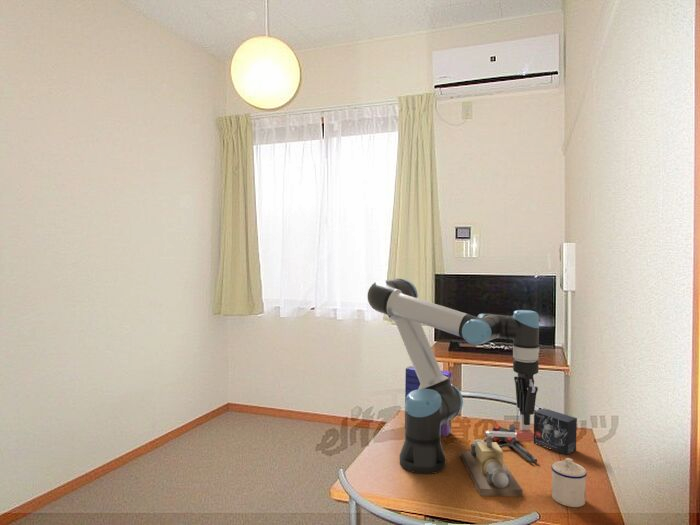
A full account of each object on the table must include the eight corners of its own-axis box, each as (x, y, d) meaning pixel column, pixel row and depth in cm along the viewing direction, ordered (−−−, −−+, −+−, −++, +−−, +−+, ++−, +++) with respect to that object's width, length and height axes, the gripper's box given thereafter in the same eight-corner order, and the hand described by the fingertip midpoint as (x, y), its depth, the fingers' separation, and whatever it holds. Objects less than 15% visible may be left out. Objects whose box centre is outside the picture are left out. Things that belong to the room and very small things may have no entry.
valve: (472, 441, 180) (508, 433, 182) (508, 476, 154) (548, 466, 157) (470, 425, 179) (506, 417, 182) (506, 457, 154) (547, 448, 156)
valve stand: (480, 495, 135) (480, 454, 135) (460, 456, 161) (461, 422, 161) (522, 496, 135) (522, 455, 134) (496, 457, 161) (496, 422, 160)
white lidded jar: (593, 507, 129) (594, 465, 129) (563, 509, 128) (564, 467, 128) (566, 485, 141) (567, 447, 141) (538, 487, 140) (539, 449, 140)
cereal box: (450, 432, 182) (451, 371, 182) (446, 436, 178) (447, 374, 178) (409, 424, 192) (410, 365, 191) (404, 427, 187) (405, 368, 187)
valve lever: (485, 438, 146) (485, 431, 146) (484, 435, 149) (484, 427, 149) (533, 441, 144) (533, 433, 144) (531, 437, 147) (531, 430, 147)
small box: (532, 443, 173) (533, 411, 173) (542, 439, 177) (543, 407, 177) (567, 455, 163) (567, 421, 162) (577, 451, 167) (577, 417, 167)
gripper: (546, 364, 141) (545, 441, 142) (529, 355, 154) (528, 425, 155) (522, 364, 141) (521, 442, 142) (506, 355, 154) (505, 426, 155)
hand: (524, 433), depth 148 cm, fingers closed
